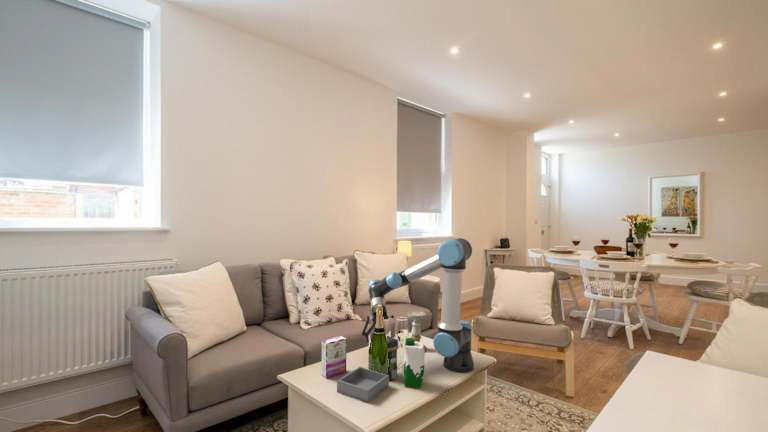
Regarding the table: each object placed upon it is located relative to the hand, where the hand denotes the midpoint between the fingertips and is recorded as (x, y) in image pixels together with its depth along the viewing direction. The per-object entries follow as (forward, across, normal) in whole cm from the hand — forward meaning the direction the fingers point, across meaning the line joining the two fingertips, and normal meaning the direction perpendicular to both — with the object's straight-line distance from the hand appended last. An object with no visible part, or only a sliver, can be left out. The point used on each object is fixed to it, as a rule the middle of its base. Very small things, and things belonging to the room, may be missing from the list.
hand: (384, 348), depth 175 cm
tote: (+18, +12, 0) cm, 21 cm away
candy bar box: (+6, +23, -12) cm, 27 cm away
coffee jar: (+10, -1, -7) cm, 13 cm away
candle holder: (-10, -25, -28) cm, 39 cm away
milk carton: (+17, -11, 0) cm, 20 cm away
